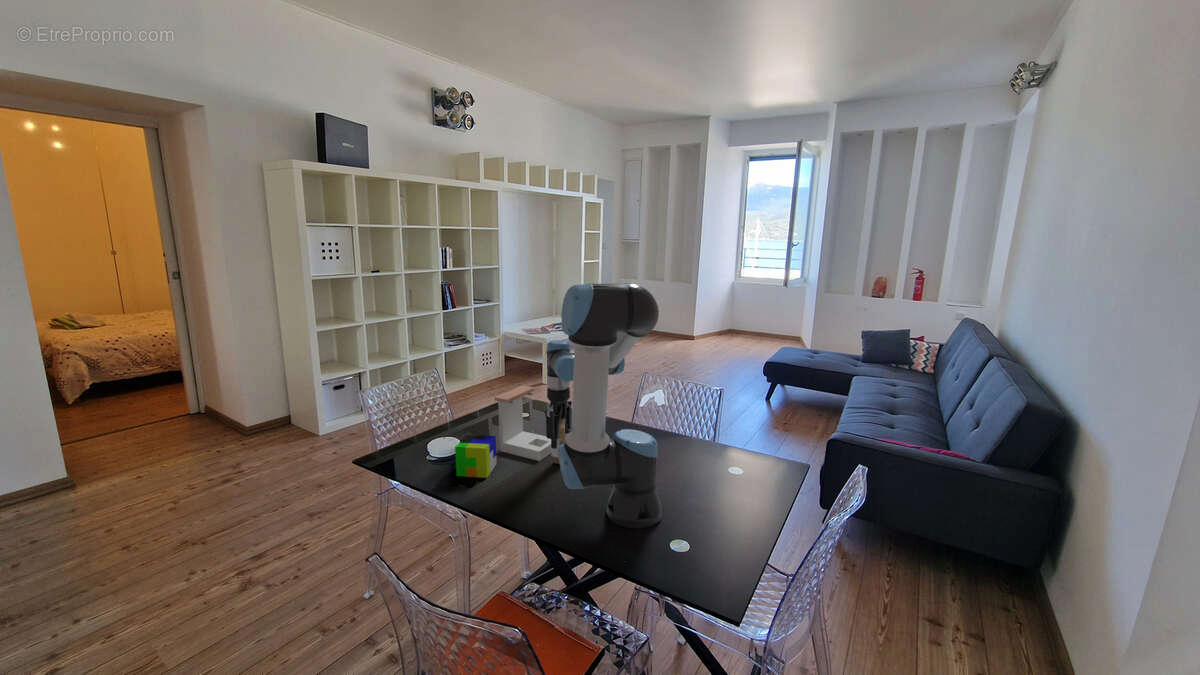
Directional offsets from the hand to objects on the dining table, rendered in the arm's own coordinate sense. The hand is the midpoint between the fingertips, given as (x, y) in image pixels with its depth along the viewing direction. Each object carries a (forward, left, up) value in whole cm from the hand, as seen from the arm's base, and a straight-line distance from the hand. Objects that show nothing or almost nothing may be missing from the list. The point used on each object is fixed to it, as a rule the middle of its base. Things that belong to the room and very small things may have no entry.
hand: (559, 453), depth 165 cm
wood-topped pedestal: (+4, +21, 0) cm, 21 cm away
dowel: (0, 0, -3) cm, 3 cm away
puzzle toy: (-17, +21, -4) cm, 27 cm away
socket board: (+4, +15, -3) cm, 16 cm away
